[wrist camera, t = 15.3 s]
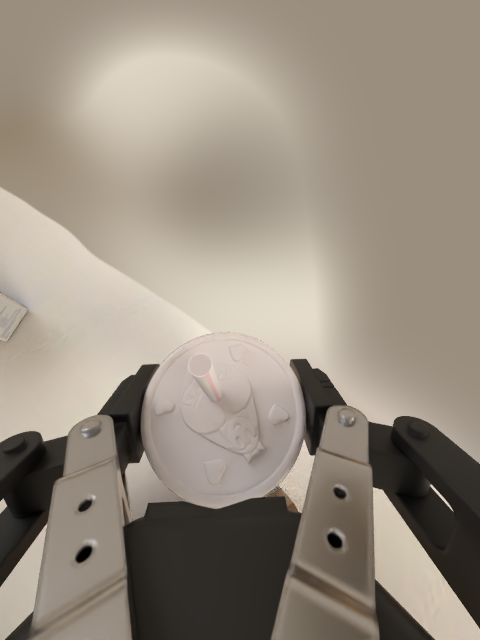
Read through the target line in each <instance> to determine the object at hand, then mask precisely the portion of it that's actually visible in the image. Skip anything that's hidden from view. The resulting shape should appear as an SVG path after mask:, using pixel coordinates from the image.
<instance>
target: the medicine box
mask: <svg viewBox="0 0 480 640" xmlns="http://www.w3.org/2000/svg"><path fill="white" fill-rule="evenodd" d="M27 311H28V309H27V308H26V307H24V306H23V305H21V304H19V303H17V302H16V301H14V300H12V299H11V298H9V297H7V296H5V295H4V294H2V293H0V340H1V341H4V342H7V341H8V339H9V338H10V336H11V335H12V333H13V332H14V330H15V329H16V327H17V326H18V324H19V323H20V321H21V320H22V318H23V317H24V315H25V314H26V312H27Z"/></svg>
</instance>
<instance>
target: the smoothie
mask: <svg viewBox="0 0 480 640" xmlns="http://www.w3.org/2000/svg"><path fill="white" fill-rule="evenodd" d="M305 428H306V408H305V401H304V397H303V393H302V390H301V386H300V384H299V382H298V379H297V377H296V375H295V374H294V372H293V370H292V369H291V367H290V366H289V364H288V363H287V362H286V361H285V359H284V358H283V357H282V356H281V355H280V354H279V353H278V352H276V351H275V350H274V349H273V348H272V347H270V346H269V345H267V344H265V343H264V342H262V341H260V340H258V339H256V338H253V337H251V336H247V335H244V334H239V333H230V332H224V333H223V332H220V333H212V334H207V335H204V336H200V337H198V338H195V339H193V340H191V341H189V342H187V343H185V344H183V345H182V346H180V347H179V348H178V349H176V350H175V351H174V352H173V353H171V354H170V355H169V356H168V357H167V358H166V359H165V360H164V361H163V363H162V364H161V365H160V366H159V368H158V369H157V371H156V372H155V374H154V375H153V377H152V379H151V381H150V383H149V385H148V388H147V390H146V393H145V396H144V400H143V404H142V410H141V436H142V442H143V446H144V450H145V453H146V455H147V458H148V460H149V462H150V465H151V467H152V468H153V470H154V471H155V473H156V475H157V476H158V477H159V479H160V480H161V481H162V482H163V483H164V484H165V485H166V486H167V487H168V488H169V489H170V490H171V491H172V492H174V493H175V494H176V495H178V496H179V497H181V498H182V499H184V500H186V501H188V502H190V503H193V504H196V505H200V506H204V507H208V508H215V509H219V508H223V507H226V506H229V505H232V504H235V503H238V502H241V501H244V500H247V499H250V498H260V497H263V496H265V495H266V494H268V493H269V492H271V491H272V490H273V489H274V488H275V487H276V486H278V485H279V484H280V482H281V481H282V480H283V479H284V478H285V477H286V475H287V474H288V473H289V471H290V470H291V468H292V467H293V465H294V463H295V461H296V459H297V457H298V455H299V453H300V450H301V447H302V444H303V439H304V435H305Z"/></svg>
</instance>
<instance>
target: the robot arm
mask: <svg viewBox="0 0 480 640" xmlns="http://www.w3.org/2000/svg"><path fill="white" fill-rule="evenodd" d="M159 366H160V365H159V364H147V365H142V366H141V367H140V369H139V370H138V372H137V373H136V375H131V376H129V377H128V378H126V379H125V380H124V381H122V382H121V384H120V385H119V386H118V388H117V390H115V392H114V393H113V394H112V396H111V397H110V398H109V400H108V401H107V402H106V404H105V405H104V406H103V408H102V409H101V410H100V412H99V413H98V414H97V415H95V416H92V417H89V418H86V419H84V420H82V421H81V422H79V423H78V424H76V425H75V426H74V427H73V428H72V429H71V430H70V432H69V434H68V436H64V437H61V438H57V439H53V440H49V441H45V442H44V441H43V439H42V436H41V434H40V433H39V432H35V431H29V432H24V433H20V434H17V435H14V436H12V437H10V438H8V439H6V440H4V441H2V442H1V443H0V501H1V500H2V499H3V498H4V500H5V502H6V504H7V507H6V508H5V510H4V511H3V512H2V513H1V514H0V587H1V585H2V584H3V583H4V581H5V580H6V578H7V577H8V576H9V574H10V573H11V572H12V570H13V569H14V567H15V566H16V565H17V563H18V562H19V561H20V559H21V558H22V556H23V555H24V554H25V552H26V551H27V550H28V548H29V547H30V546H31V544H32V543H33V541H34V540H35V539H36V537H37V536H38V535H39V533H40V532H41V530H42V529H43V528H44V526H45V525H46V524H47V522H48V524H47V530H46V536H45V543H44V549H43V556H42V562H41V568H40V575H39V581H38V587H37V594H36V600H35V607H34V611H33V612H32V613H31V614H30V615H29V616H28V617H27V618H26V619H25V620H24V621H23V622H22V623H21V624H20V625H19V626H18V627H17V628H16V629H15V630H14V631H13V632H12V633H11V634H10V635H9V636H8V637H7V638H6V639H5V640H435V639H434V638H433V637H432V636H431V635H430V634H429V633H428V632H427V631H426V630H425V629H424V628H423V627H422V626H421V625H420V624H419V623H418V622H417V621H416V620H415V619H414V618H413V617H412V616H411V615H410V614H409V613H408V612H407V611H406V610H405V609H404V608H403V607H402V606H401V605H400V604H399V603H398V602H397V601H396V600H395V599H394V598H393V597H392V596H391V595H390V594H389V593H388V592H387V591H386V590H385V589H384V588H383V587H382V586H381V584H380V583H379V582H378V581H377V580H376V579H375V569H374V525H373V487H374V488H378V489H382V490H383V491H384V492H385V494H386V495H387V497H388V498H389V500H390V501H391V502H392V504H393V505H394V507H395V508H396V510H397V511H398V512H399V514H400V515H401V517H402V518H403V520H404V521H405V522H406V524H407V525H408V527H409V528H410V530H411V531H412V532H413V534H414V535H415V537H416V538H417V540H418V541H419V542H420V544H421V545H422V547H423V548H424V550H425V551H426V552H427V554H428V555H429V557H430V558H431V560H432V561H433V562H434V564H435V565H436V567H437V568H438V570H439V571H440V572H441V574H442V575H443V577H444V578H445V580H446V581H447V582H448V584H449V585H450V587H451V588H452V590H453V591H454V592H455V594H456V595H457V597H458V598H459V600H460V601H461V602H462V604H463V605H464V607H465V608H466V610H467V611H468V612H469V614H470V615H471V617H472V618H473V620H474V621H475V622H476V624H477V625H478V627H479V628H480V464H479V463H478V462H476V461H475V460H474V459H473V458H472V457H471V456H469V455H468V454H467V453H466V452H465V451H463V450H462V449H461V448H460V447H459V446H457V445H456V444H455V443H454V442H452V441H451V440H450V439H449V438H448V437H446V436H445V435H444V434H443V433H442V432H440V431H439V430H438V429H437V428H435V427H434V426H433V425H431V424H429V423H428V422H426V421H423V420H421V419H418V418H415V417H410V416H401V417H398V418H396V419H395V420H394V424H393V427H392V426H387V425H382V424H376V423H372V422H369V421H368V420H367V418H366V416H365V415H364V414H363V413H362V412H360V411H359V410H357V409H355V408H353V407H350V406H347V404H346V403H345V401H344V400H343V398H342V397H341V396H340V394H339V393H338V391H337V390H336V388H334V385H333V384H332V383H331V382H330V379H329V378H328V376H327V375H326V374H325V373H324V372H322V371H321V370H319V369H312V368H311V366H310V364H309V363H308V361H307V360H306V359H292V360H290V367H291V369H292V370H293V372H294V374H295V375H296V377H297V379H298V382H299V384H300V386H301V390H302V393H303V397H304V401H305V408H306V428H305V435H304V440H305V442H306V445H307V448H308V451H309V454H310V455H315V459H314V463H313V468H312V472H311V476H310V481H309V485H308V489H307V494H306V498H305V502H304V507H303V511H302V513H300V512H297V511H294V510H291V509H287V504H286V499H285V496H280V497H260V498H250V499H247V500H244V501H241V502H238V503H235V504H232V505H229V506H226V507H223V508H219V509H212V508H208V507H204V506H200V505H195V504H191V503H187V502H183V501H181V502H161V503H148V506H147V509H146V513H145V516H144V517H142V518H139V519H137V520H134V521H133V519H132V513H131V506H130V499H129V492H128V485H127V478H126V473H125V470H126V468H127V465H128V463H139V462H140V459H141V457H142V454H143V452H144V446H143V442H142V436H141V410H142V404H143V400H144V396H145V393H146V390H147V388H148V385H149V383H150V381H151V379H152V377H153V375H154V374H155V372H156V371H157V369H158V368H159ZM431 484H432V485H433V486H434V487H435V488H436V490H437V491H438V492H439V493H440V494H441V495H442V496H443V497H444V498H445V499H446V501H447V502H448V503H449V504H450V506H451V508H452V509H453V511H454V512H453V511H452V510H451V509H450V508H449V507H448V506H447V505H446V503H445V502H444V501H443V500H442V499H441V498H440V497H439V496H438V495H437V493H436V492H435V491H434V490H433V489H432V488H431V487H430V485H431Z"/></svg>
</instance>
